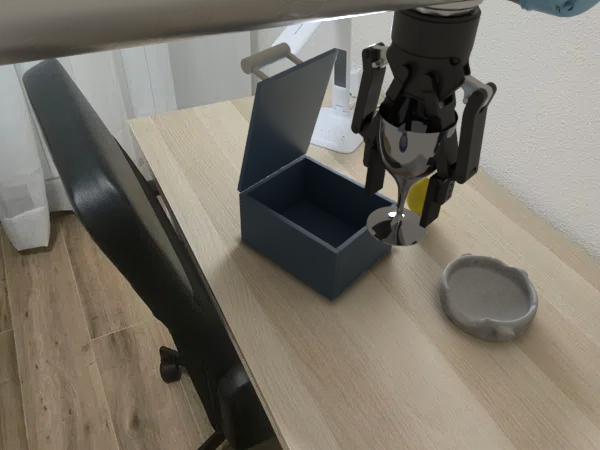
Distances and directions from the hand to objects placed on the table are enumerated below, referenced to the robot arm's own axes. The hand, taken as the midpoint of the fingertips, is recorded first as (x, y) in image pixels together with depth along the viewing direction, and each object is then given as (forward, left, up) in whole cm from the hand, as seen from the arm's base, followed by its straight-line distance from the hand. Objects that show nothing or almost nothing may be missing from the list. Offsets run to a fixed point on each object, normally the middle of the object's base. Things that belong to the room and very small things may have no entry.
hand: (400, 205), depth 63 cm
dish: (+15, -9, -23) cm, 29 cm away
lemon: (+27, +10, -23) cm, 37 cm away
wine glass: (0, 0, -3) cm, 3 cm away
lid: (+8, +25, -3) cm, 27 cm away
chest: (+8, +18, -23) cm, 31 cm away
